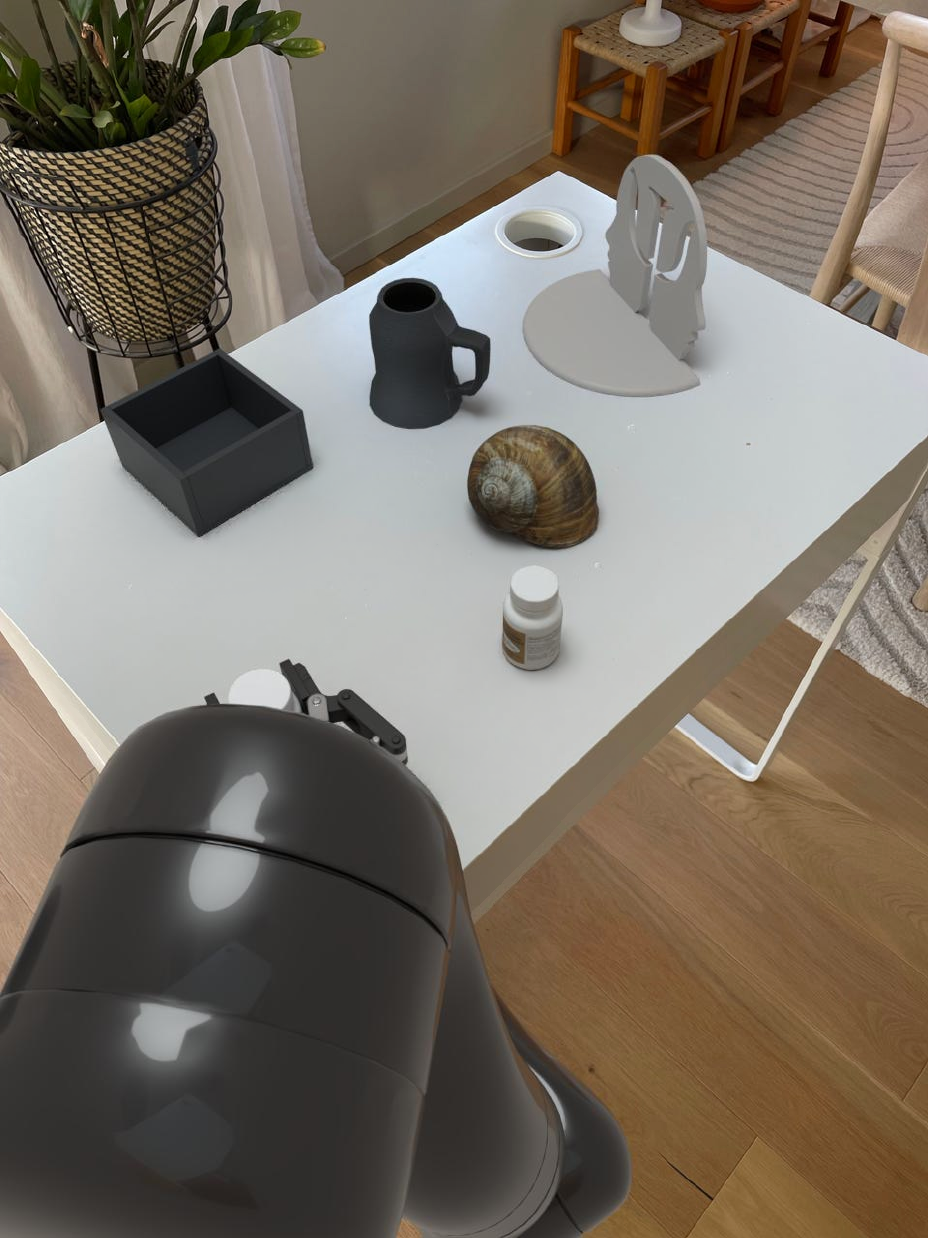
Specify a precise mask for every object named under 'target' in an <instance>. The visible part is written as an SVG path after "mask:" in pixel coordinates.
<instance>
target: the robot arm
mask: <svg viewBox="0 0 928 1238" xmlns="http://www.w3.org/2000/svg"><path fill="white" fill-rule="evenodd" d="M279 668H280V672H281V674H282V675H283V676H284V677H285V678H286V679H287V680H288V682H289V684H290V687H291V691H292V692H293V693H294V694H295V695H296V696H297V698H298V700H299V702H300V704H301V708H302V711H303V713H299V712H294V711H289V710H284V709H279V708H273V707H268V706H259V705H245V704H229V703H220V701H219V699H218V697H217V695H216V693H215V692H211V693H209V694H207V695H205V696H203V698H204V701H205V703H206V704H201V705H199V704H198V705H193V706H192V705H191V706H187V707H183V708H178V709H175V710H171V711H167V712H165V713H163V714H161V715H158V716H156V717H154V718H153V719H151V720H149V721H147V722H145V723H143V724H141V725H140V726H138V727H137V728H135V730H133V731H132V732H131V733H130V734H129V735H128V736H127V737H126V738H125V739H124V740H123V741H122V743H120V745H119V746H118V747H117V748H116V749H115V751H114V752H113V753H112V754H111V756H110V757H109V758H108V760H107V762H106V763H105V765H104V767H103V768H102V770H101V771H100V773H99V775H98V776H97V778H96V780H95V781H94V783H93V785H92V787H91V789H90V791H89V793H88V794H87V797H86V798H85V801H84V802H83V804H82V806H81V808H80V811H79V813H78V815H77V817H76V819H75V821H74V824H73V825H72V828H71V830H70V833H69V834H68V837H67V840H66V843H65V845H64V848H63V849H62V851H61V853H60V855H59V859H58V860H57V861H56V863H55V866H54V867H53V869H52V872H51V875H50V877H49V879H48V880H47V881H48V882H47V883H46V886H45V888H44V890H43V893H42V895H41V898H40V900H39V903H38V905H37V907H36V909H35V912H34V913H33V915H32V918H31V921H30V923H29V925H28V928H27V930H26V932H25V934H24V937H23V939H22V941H21V944H20V946H19V948H18V950H17V953H16V954H15V958H14V960H13V962H12V965H11V967H10V969H9V972H8V974H7V976H6V977H5V981H4V983H3V985H2V987H1V990H0V1238H397V1236H398V1232H399V1229H400V1226H401V1223H402V1219H404V1220H406V1221H407V1222H409V1223H411V1224H412V1225H414V1226H416V1227H417V1229H418V1231H419V1234H420V1236H421V1238H583V1237H584V1234H588V1233H590V1231H592V1230H593V1229H595V1228H596V1227H598V1226H599V1225H600V1224H601V1223H603V1222H604V1221H605V1220H607V1219H608V1218H610V1217H611V1216H612V1215H613V1214H614V1213H615V1212H617V1211H618V1210H619V1209H620V1207H621V1206H623V1204H624V1203H625V1202H626V1200H627V1198H628V1196H629V1193H630V1191H631V1186H632V1181H633V1163H632V1162H633V1161H632V1156H631V1149H630V1146H629V1142H628V1141H627V1137H626V1134H625V1133H624V1131H623V1128H622V1126H621V1124H620V1122H619V1121H618V1119H617V1118H616V1116H615V1115H614V1113H613V1112H612V1111H611V1109H610V1108H609V1107H608V1105H606V1103H605V1102H604V1101H603V1100H602V1099H601V1098H600V1097H599V1096H598V1095H597V1094H596V1092H594V1091H593V1090H592V1088H590V1087H589V1086H588V1085H587V1084H586V1083H585V1082H584V1081H583V1080H581V1079H580V1078H579V1077H578V1076H577V1075H576V1074H575V1073H574V1072H572V1070H571V1069H570V1068H568V1067H567V1066H566V1065H565V1064H564V1063H563V1062H562V1061H561V1060H559V1058H557V1057H556V1056H555V1055H554V1054H553V1053H552V1052H551V1051H550V1050H548V1049H547V1048H546V1047H545V1046H544V1044H542V1043H541V1041H539V1040H538V1038H537V1037H535V1036H534V1034H532V1033H531V1032H530V1031H529V1029H528V1028H527V1027H526V1026H525V1025H524V1024H523V1023H522V1022H521V1021H520V1020H519V1019H518V1017H517V1016H516V1014H514V1013H513V1012H512V1010H511V1009H510V1008H509V1006H508V1005H507V1003H506V1002H505V1001H504V999H503V998H502V997H501V996H500V994H499V993H498V992H497V991H496V989H495V987H494V986H493V984H492V983H491V979H490V977H489V974H488V969H487V966H486V965H487V964H486V962H485V959H484V955H483V952H482V948H481V945H480V942H479V938H478V935H477V931H476V929H475V928H476V927H475V924H474V921H473V918H472V913H471V908H470V903H469V898H468V892H467V887H466V881H465V875H464V869H463V865H462V860H461V856H460V851H459V847H458V843H457V840H456V837H455V834H454V831H453V829H452V826H451V824H450V823H451V822H450V821H449V818H448V817H447V815H446V813H445V812H444V809H443V808H442V806H441V804H440V802H439V801H438V799H437V798H436V797H435V796H434V793H433V792H432V791H431V789H430V788H429V787H428V786H427V785H426V784H425V783H424V782H423V781H422V780H421V779H420V778H419V777H417V775H416V774H415V772H413V771H412V770H411V769H410V768H409V767H408V766H407V765H408V762H409V757H408V755H409V754H408V746H407V738H406V736H405V735H404V733H402V732H401V731H400V730H399V729H398V728H397V727H396V726H394V725H393V724H392V723H390V721H388V720H387V719H386V718H385V717H384V716H382V715H381V713H379V712H378V711H377V710H376V709H374V708H373V706H371V705H370V704H368V703H367V702H366V701H365V700H364V699H363V698H362V697H360V696H359V695H358V694H357V693H356V692H355V691H354V690H352V689H350V688H344V689H341V690H340V691H338V693H337V694H334V695H326V694H324V693H322V692H321V690H320V689H319V687H318V686H317V684H316V682H315V681H314V679H313V678H312V676H311V674H310V673H309V671H308V669H307V668H306V666H305V665H303V664H302V663H301V662H297V663H295V664H293V663H292V661H291V659H290V658H287V659H285V660H283V661H281V662H279ZM336 723H343V724H344V725H345V726H347V728H346V727H344V726H342V725H339V724H336Z"/></svg>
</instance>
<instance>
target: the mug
mask: <svg viewBox="0 0 928 1238" xmlns="http://www.w3.org/2000/svg"><path fill="white" fill-rule="evenodd" d="M368 324H369V325H368V326H369V332H370V333H369V335H370V343H371V349H372V350H371V351H372V354H373V359H374V368H375V373H374V376H373V378H372V380H371V384H370V391H369V407H370V409H371V411H372V413H373V414H374V415H375V416H376V417H377V418H378V419H380V420H381V421H382V422H384V423H386V424H387V425H391V426H393V427H396V428H401V429H409V430H416V429H427V428H431V427H434V426H438V425H441V424H442V423H445V422H446V421H448V420H450V419H451V418H453V416H454V415H456V413H458V412H459V410H460V408H461V406H462V404H463V401H464V400H463V396H464V397H474V396H475V395H476V394H477V393H478V392H479V391H480V390H481V389H482V388H483V385H484V384H485V383H486V381H487V380H488V378H489V375H490V369H491V368H490V367H491V346H492V345H491V338H490V337H489V336H488V335H487V334H484V333H482V332H480V331H478V330H475V329H471V328H467V327H463V326H460V325H459V323H458V321H457V319H456V317H455V315H454V313H453V310H452V308H451V307H450V306H449V304H448V303H447V302H446V300H445V299H444V298H443V294H442V291H441V290H440V289H439V287H438V286H437V285H436V283H435V284H434V282H432V281H429V280H427V279H424V278H418V277H403V278H398V279H394V280H392V281H390V282H388V283H386V284H385V285H383V286H382V287H381V288H380V290H379V292H378V293H377V296H376V303H374V306H373V307H372V309H371V311H370V312H369V314H368ZM453 348H462V349H466V350H470V351H472V352H473V353H474V364H475V368H474V371H475V372H474V379H470V380H466V381H464V382H462V383H461V382H460V379H459V376H458V374H457V373H456V371H455V368H454V357H453V351H454V349H453Z"/></svg>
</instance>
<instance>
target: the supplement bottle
mask: <svg viewBox="0 0 928 1238" xmlns="http://www.w3.org/2000/svg"><path fill="white" fill-rule="evenodd" d="M227 702H228V703H227V704H245V705H259V706H268V707H273V708H279V709H284V710H289V711H294V712H299V713H303V711H302V708H301V704H300V702H299V700H298V698H297V696H296V695H295V694H294V693H293V692H292V691H291V687H290V684H289V682H288V680H287V679H286V678H285V677H284V676H283V675H282V673H280V672H278V671H276V670H273V669H270V668H256V669H252V670H249V671H247V672H245V673H243V674H242V675H240V676H239V677H237V678H236V679H235V681H234V682H232V684H231V686H230V688H229V690H228V694H227Z"/></svg>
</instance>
